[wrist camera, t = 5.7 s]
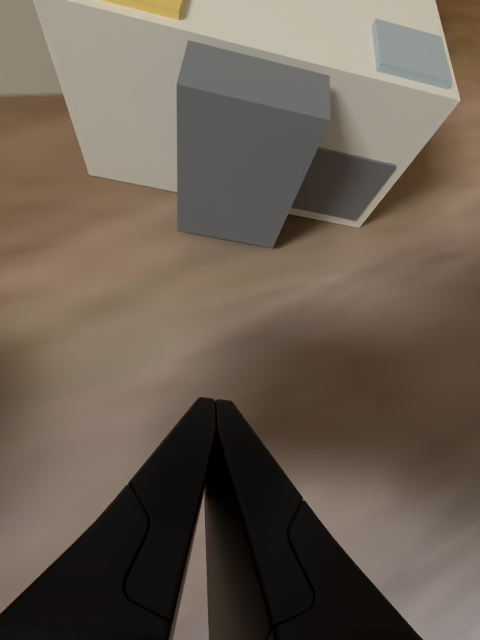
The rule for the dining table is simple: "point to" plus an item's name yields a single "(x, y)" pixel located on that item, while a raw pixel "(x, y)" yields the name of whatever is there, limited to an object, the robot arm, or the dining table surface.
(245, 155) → the plug
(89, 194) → the dining table surface
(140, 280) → the dining table surface
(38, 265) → the dining table surface
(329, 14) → the port box
